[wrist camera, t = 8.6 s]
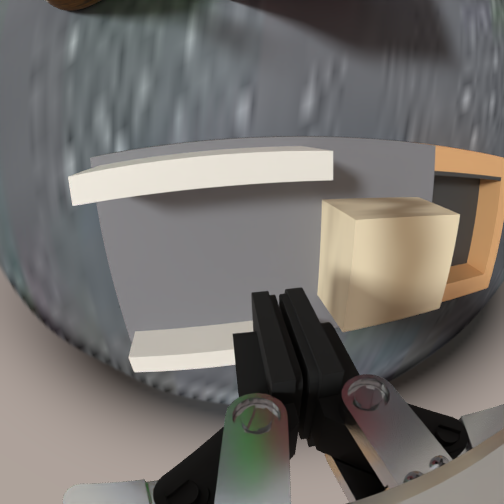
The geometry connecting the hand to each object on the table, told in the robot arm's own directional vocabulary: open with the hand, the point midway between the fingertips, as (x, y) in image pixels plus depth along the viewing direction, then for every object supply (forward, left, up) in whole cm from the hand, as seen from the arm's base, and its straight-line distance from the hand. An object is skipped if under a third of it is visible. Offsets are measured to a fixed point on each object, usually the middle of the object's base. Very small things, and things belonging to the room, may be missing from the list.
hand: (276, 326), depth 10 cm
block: (-8, +1, -7) cm, 11 cm away
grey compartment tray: (-8, 0, -10) cm, 13 cm away
